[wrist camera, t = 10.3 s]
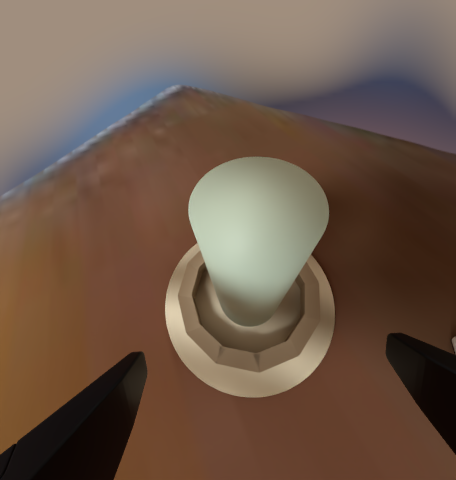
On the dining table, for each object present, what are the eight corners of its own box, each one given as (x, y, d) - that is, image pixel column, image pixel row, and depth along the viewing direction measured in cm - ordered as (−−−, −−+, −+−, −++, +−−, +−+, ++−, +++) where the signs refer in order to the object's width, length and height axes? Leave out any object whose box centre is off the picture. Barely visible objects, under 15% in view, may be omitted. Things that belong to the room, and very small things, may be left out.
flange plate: (336, 417, 13) (369, 435, 10) (144, 372, 15) (116, 374, 12) (325, 240, 20) (343, 213, 16) (192, 224, 22) (183, 197, 18)
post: (262, 339, 15) (297, 295, 5) (207, 306, 16) (160, 225, 7) (287, 284, 17) (346, 180, 7) (237, 259, 18) (231, 144, 9)
